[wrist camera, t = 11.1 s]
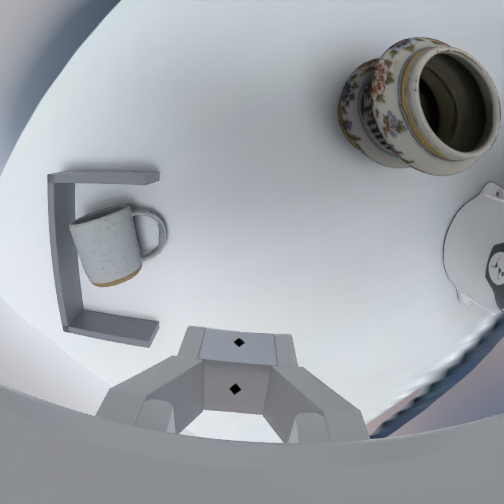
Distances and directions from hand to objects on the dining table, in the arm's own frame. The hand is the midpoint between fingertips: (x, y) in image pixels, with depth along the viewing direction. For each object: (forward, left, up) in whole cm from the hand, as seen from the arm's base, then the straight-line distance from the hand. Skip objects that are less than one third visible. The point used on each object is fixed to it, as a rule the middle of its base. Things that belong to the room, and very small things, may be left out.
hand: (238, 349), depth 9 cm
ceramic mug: (+15, +5, -29) cm, 33 cm away
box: (+17, +8, -29) cm, 35 cm away
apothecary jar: (-14, -12, -29) cm, 35 cm away
